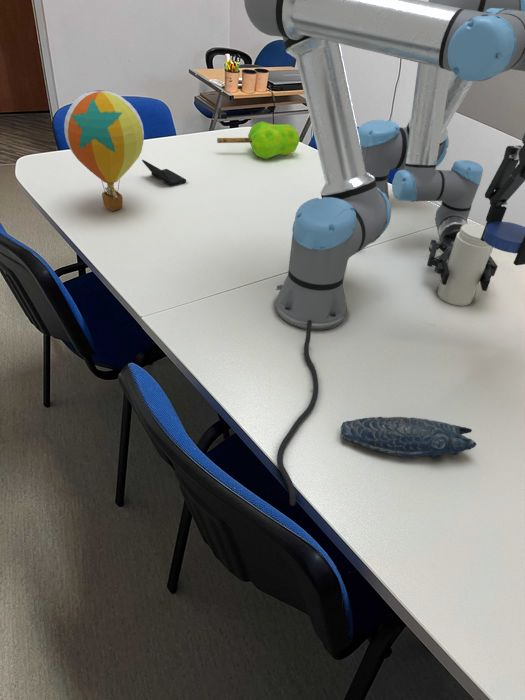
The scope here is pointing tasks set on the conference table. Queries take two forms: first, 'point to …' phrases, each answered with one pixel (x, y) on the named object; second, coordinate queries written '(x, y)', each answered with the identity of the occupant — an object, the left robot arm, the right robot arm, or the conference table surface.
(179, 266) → the conference table surface
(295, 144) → the decorative tree
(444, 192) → the right robot arm
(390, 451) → the fish model
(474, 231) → the jar
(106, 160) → the toy
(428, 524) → the conference table surface
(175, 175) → the black angled piece
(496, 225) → the lid
